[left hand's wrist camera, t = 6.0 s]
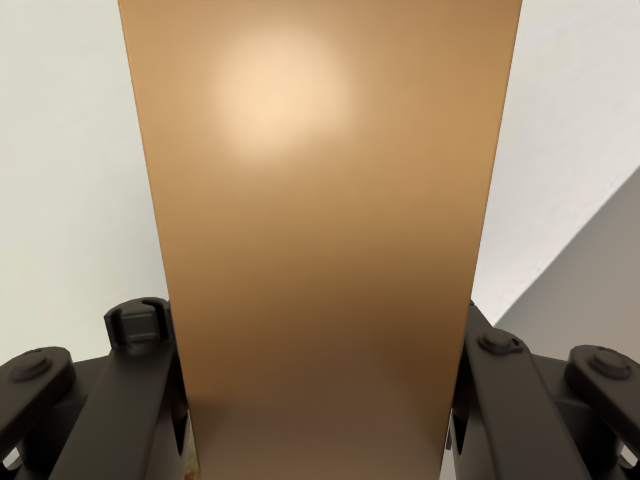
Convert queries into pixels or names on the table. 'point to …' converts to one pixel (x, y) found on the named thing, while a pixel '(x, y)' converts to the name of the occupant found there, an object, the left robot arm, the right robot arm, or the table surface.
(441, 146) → the bar
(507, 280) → the table surface
